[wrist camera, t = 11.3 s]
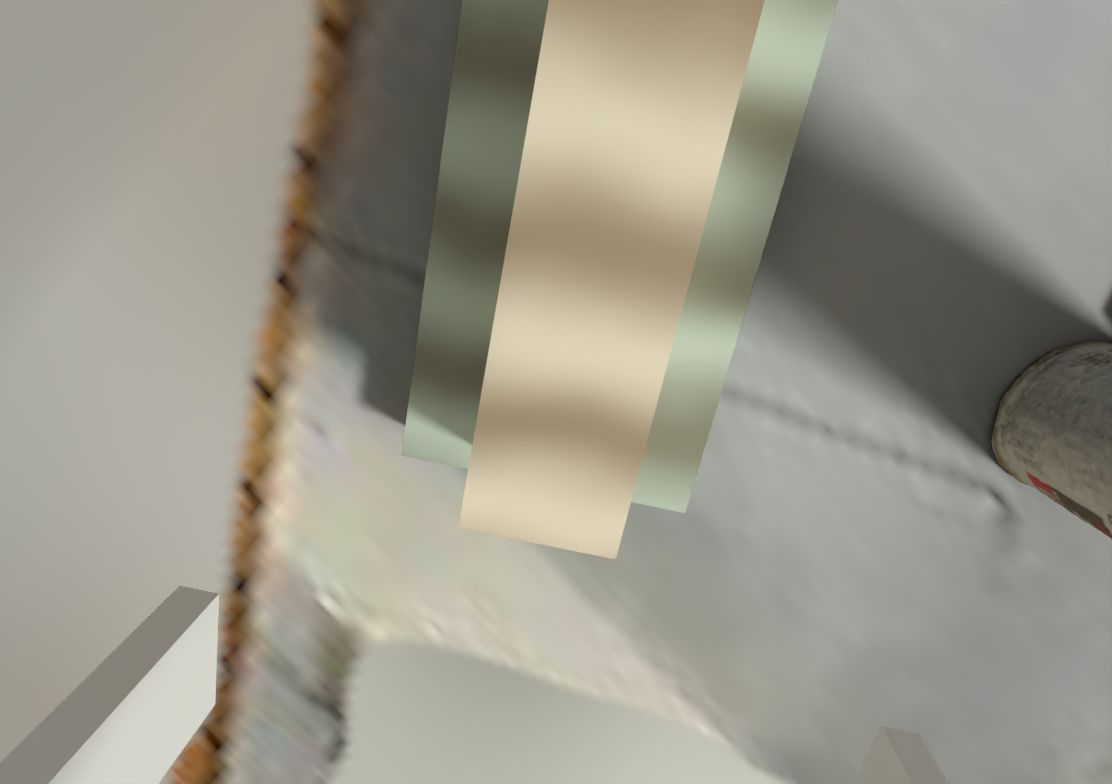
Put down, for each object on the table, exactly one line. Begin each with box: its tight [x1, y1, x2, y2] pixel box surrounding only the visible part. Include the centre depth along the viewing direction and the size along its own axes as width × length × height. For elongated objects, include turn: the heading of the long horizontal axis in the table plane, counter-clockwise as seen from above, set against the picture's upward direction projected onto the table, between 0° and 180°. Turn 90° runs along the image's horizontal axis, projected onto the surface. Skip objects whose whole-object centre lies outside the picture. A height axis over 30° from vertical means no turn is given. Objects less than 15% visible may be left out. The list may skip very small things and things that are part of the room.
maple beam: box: [458, 0, 765, 559], centre depth 24 cm, size 22×6×7 cm, turn 169°
